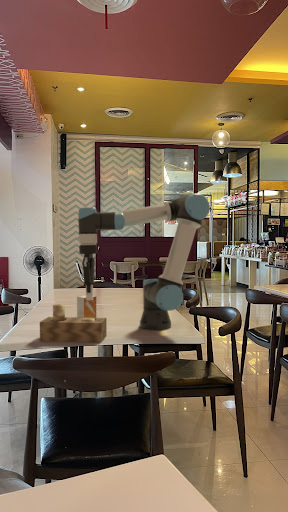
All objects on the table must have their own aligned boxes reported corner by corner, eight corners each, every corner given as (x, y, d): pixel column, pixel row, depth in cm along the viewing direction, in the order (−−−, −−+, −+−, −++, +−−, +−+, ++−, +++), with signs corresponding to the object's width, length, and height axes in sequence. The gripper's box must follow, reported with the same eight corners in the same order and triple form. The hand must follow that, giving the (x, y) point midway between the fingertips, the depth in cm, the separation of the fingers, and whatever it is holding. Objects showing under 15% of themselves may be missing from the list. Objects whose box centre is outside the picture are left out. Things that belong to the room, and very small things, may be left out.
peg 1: (66, 322, 175) (66, 304, 174) (63, 324, 170) (62, 306, 169) (55, 322, 175) (54, 304, 175) (51, 324, 170) (51, 305, 170)
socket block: (106, 336, 176) (106, 317, 176) (101, 342, 165) (101, 323, 165) (48, 334, 179) (48, 316, 178) (39, 341, 168) (39, 322, 168)
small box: (84, 323, 203) (83, 297, 202) (76, 321, 207) (76, 296, 207) (96, 321, 208) (96, 296, 208) (89, 319, 213) (89, 294, 212)
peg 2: (96, 336, 174) (95, 318, 173) (93, 339, 169) (93, 320, 168) (84, 336, 174) (84, 317, 174) (81, 339, 169) (81, 320, 169)
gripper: (83, 244, 177) (84, 297, 178) (75, 244, 164) (77, 302, 165) (100, 243, 176) (101, 297, 177) (93, 244, 163) (95, 302, 164)
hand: (89, 300), depth 171 cm, fingers closed
